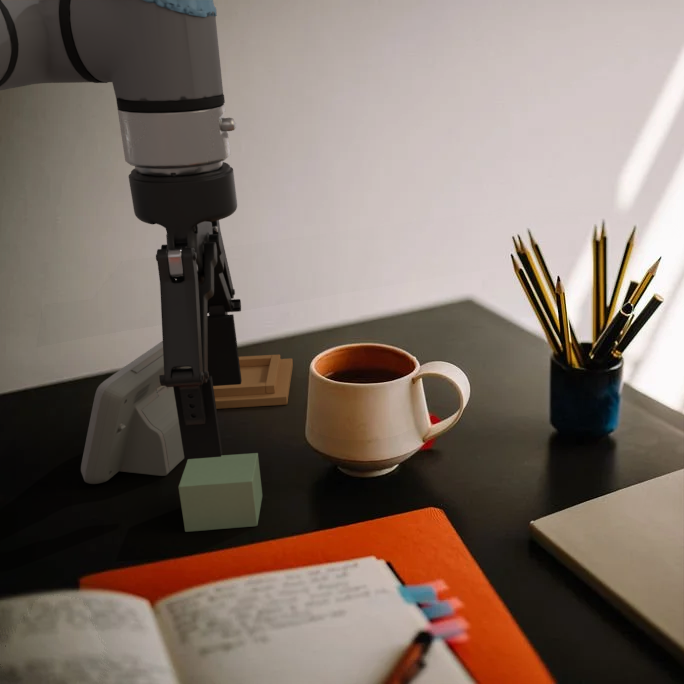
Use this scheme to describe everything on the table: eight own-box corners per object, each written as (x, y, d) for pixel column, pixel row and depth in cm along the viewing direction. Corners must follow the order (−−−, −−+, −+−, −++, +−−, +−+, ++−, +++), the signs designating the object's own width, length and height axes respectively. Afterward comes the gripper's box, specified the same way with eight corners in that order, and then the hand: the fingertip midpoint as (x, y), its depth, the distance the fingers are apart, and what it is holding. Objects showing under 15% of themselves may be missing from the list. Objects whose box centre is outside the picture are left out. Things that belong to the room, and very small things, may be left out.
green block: (184, 532, 77) (178, 486, 75) (194, 501, 82) (188, 457, 80) (257, 526, 78) (252, 481, 76) (262, 496, 83) (257, 452, 81)
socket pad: (174, 411, 98) (171, 395, 97) (190, 371, 108) (188, 355, 108) (287, 404, 100) (285, 388, 99) (293, 365, 110) (291, 350, 109)
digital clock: (175, 410, 99) (162, 318, 95) (243, 425, 95) (233, 331, 91) (55, 481, 85) (33, 377, 81) (130, 501, 81) (112, 394, 77)
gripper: (208, 199, 57) (245, 489, 65) (248, 136, 80) (273, 357, 88) (83, 204, 56) (136, 498, 64) (160, 139, 79) (193, 362, 87)
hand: (215, 417), depth 76 cm, fingers open, 13 cm apart
